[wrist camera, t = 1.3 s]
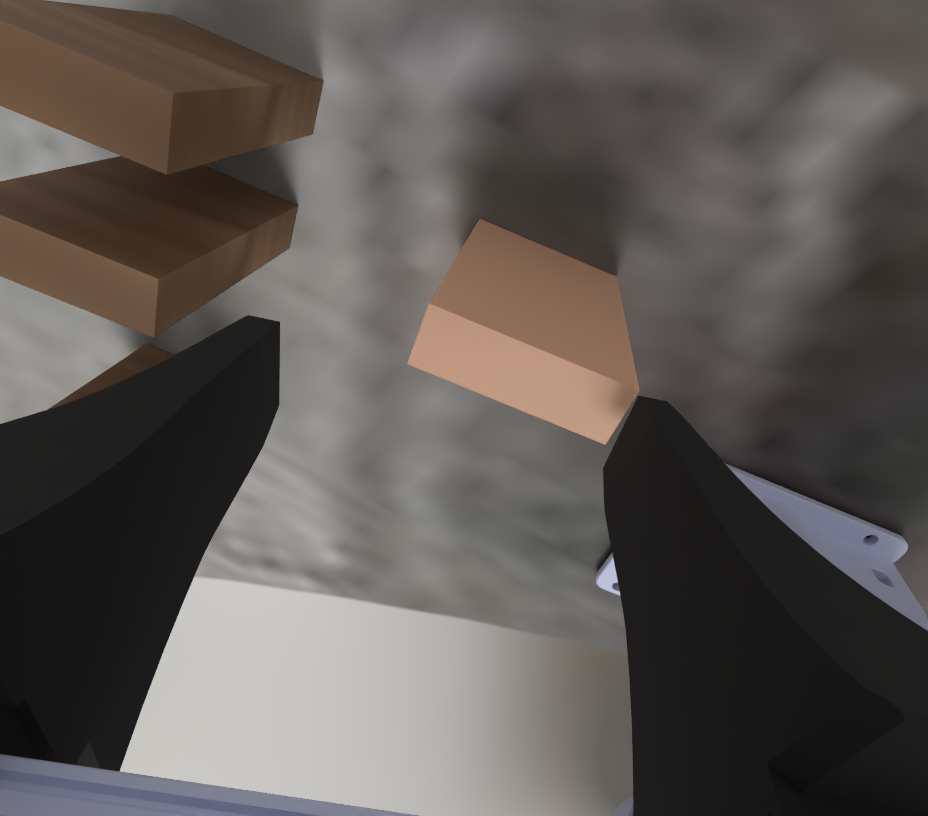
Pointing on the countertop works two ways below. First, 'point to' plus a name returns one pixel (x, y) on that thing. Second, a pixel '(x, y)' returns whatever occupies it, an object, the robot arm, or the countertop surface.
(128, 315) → the domino
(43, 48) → the domino
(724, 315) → the countertop surface
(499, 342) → the domino
